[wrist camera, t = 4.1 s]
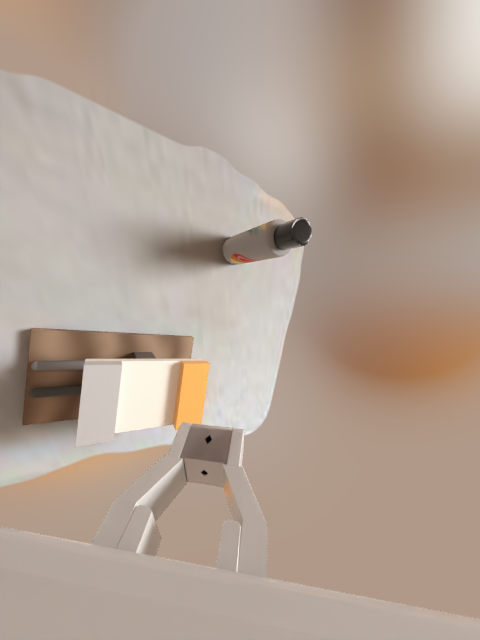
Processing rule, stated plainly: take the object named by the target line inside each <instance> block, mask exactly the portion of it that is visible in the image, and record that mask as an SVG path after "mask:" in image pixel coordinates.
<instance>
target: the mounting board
mask: <svg viewBox="0 0 480 640" xmlns="http://www.w3.org/2000/svg"><path fill="white" fill-rule="evenodd" d="M193 339H194V338H193V337H191V336H174V335H156V334H137V333H118V332H100V331H81V330H62V329H43V328H33V329H31V335H30V346H29V357H28V369H27V380H26V391H25V402H24V413H23V425H28V424H37V423H45V422H54V421H62V420H71V419H78V417H79V408H80V398H81V395H70V396H56V397H42V398H31V397H30V396H29V391H30V390H31V389H33V388H41V387H60V386H79V385H82V379H83V370H43V371H35V370H33V369H32V368H31V365H32V363H33V362H35V361H61V360H85V359H133V354H134V352H152V353H153V354H154V356H155V357H156V358H157V359H191V354H192V346H193Z"/></svg>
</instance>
